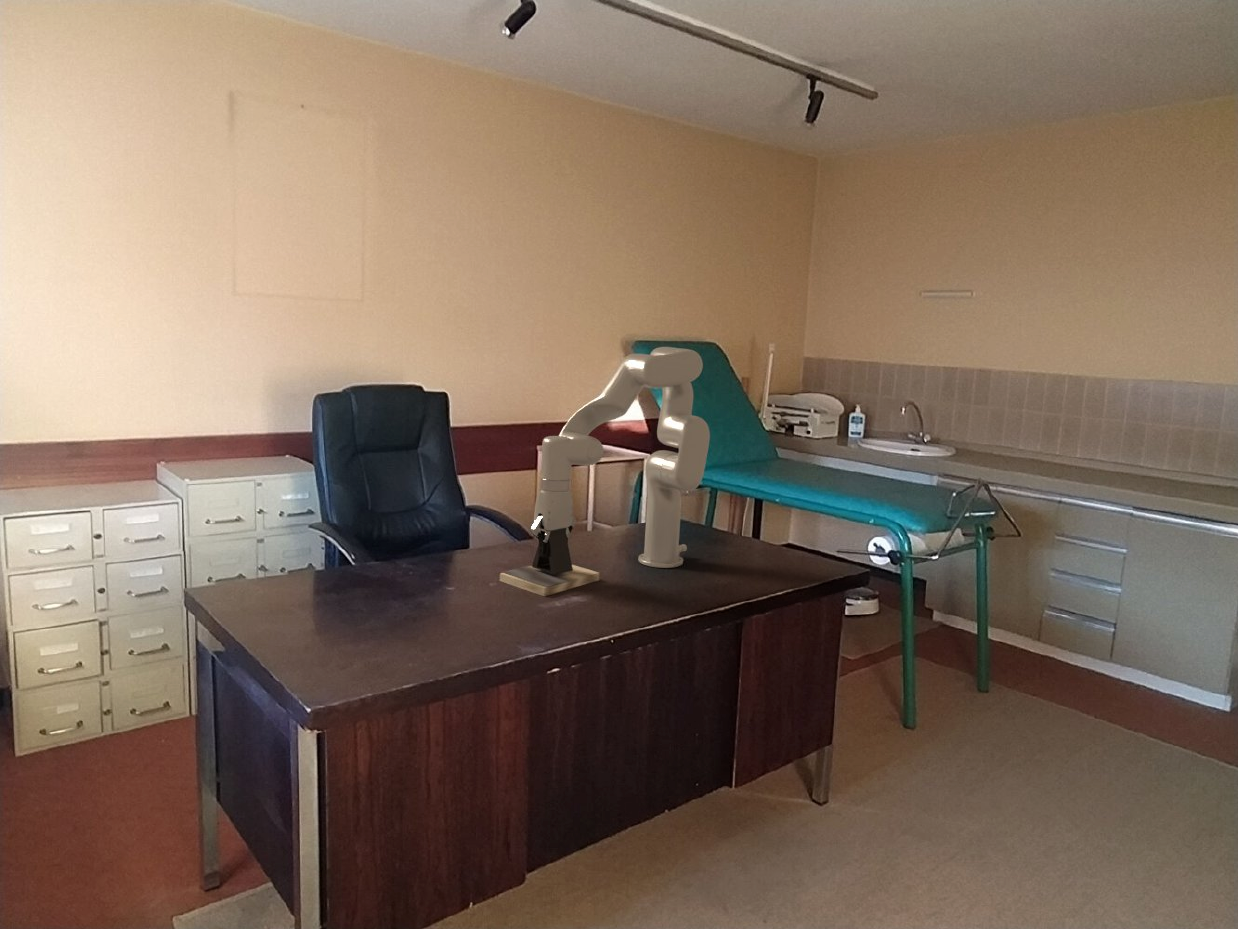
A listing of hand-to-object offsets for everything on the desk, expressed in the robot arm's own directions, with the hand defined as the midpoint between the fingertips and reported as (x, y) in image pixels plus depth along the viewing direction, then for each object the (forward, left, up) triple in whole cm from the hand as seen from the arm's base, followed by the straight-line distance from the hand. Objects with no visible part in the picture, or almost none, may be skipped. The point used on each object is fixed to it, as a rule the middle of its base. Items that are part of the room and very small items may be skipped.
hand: (552, 553), depth 229 cm
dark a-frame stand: (0, 0, -4) cm, 4 cm away
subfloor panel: (+1, 0, -7) cm, 7 cm away
